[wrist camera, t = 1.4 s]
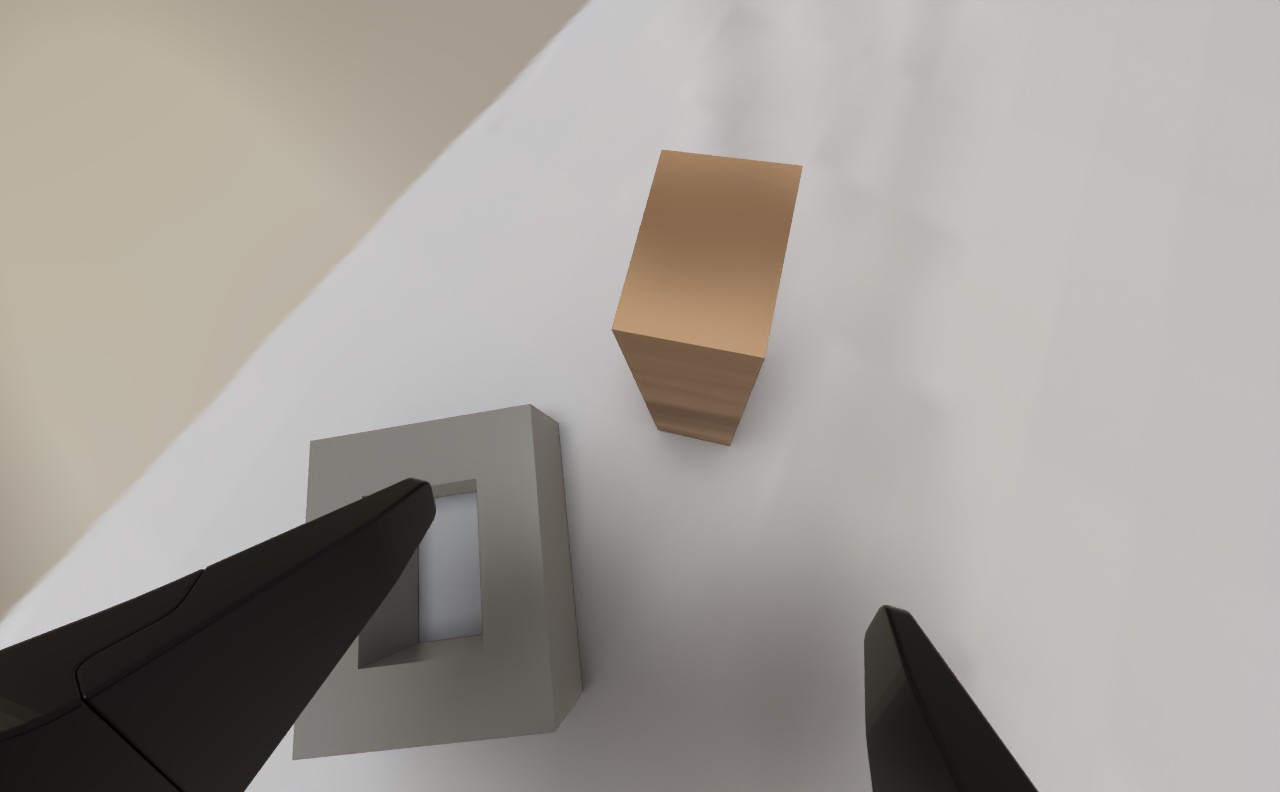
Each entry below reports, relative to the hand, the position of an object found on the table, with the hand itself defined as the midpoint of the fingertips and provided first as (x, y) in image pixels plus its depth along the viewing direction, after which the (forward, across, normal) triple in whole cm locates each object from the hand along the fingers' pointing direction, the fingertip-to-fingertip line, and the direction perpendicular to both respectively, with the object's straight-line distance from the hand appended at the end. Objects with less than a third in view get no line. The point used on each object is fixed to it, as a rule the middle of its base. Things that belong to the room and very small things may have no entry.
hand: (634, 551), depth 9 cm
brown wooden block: (+14, 0, +4) cm, 15 cm away
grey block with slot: (+6, +9, +12) cm, 16 cm away
